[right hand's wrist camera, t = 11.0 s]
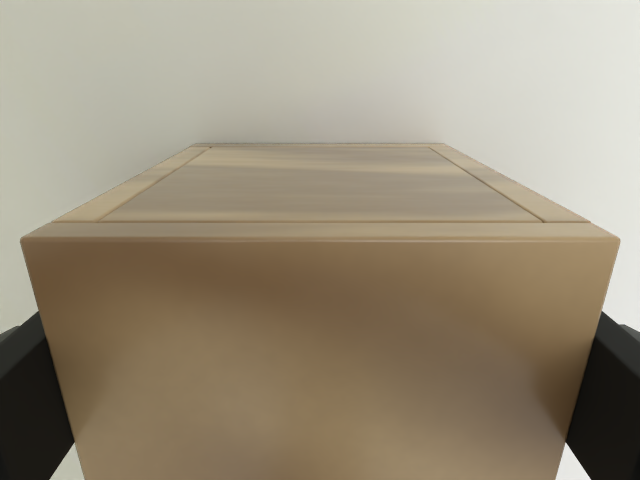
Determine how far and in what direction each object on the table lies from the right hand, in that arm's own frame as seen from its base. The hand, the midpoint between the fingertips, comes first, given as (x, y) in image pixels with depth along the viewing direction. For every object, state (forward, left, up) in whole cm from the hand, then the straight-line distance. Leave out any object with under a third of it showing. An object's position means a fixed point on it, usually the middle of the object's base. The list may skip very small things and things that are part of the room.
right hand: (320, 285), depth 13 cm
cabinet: (+1, -5, -7) cm, 8 cm away
